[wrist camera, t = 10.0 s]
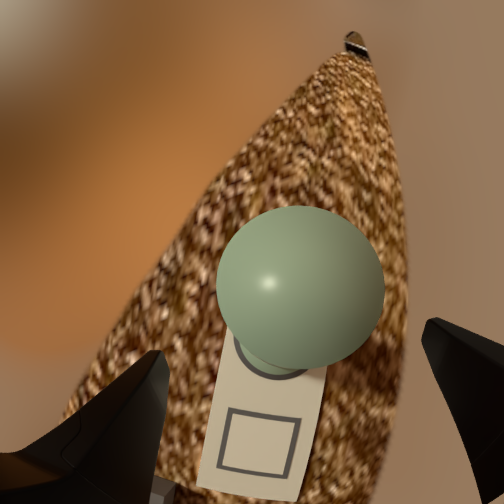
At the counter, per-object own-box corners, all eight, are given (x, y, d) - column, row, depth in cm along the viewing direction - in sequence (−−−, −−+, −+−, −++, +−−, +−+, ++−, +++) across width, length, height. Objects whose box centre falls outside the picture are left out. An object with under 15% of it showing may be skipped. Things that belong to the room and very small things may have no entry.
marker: (302, 373, 18) (370, 381, 6) (239, 358, 18) (194, 343, 7) (316, 311, 20) (388, 225, 8) (255, 298, 20) (243, 192, 8)
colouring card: (295, 500, 14) (296, 502, 14) (196, 484, 15) (195, 486, 14) (334, 299, 20) (336, 298, 20) (236, 284, 21) (236, 283, 21)
